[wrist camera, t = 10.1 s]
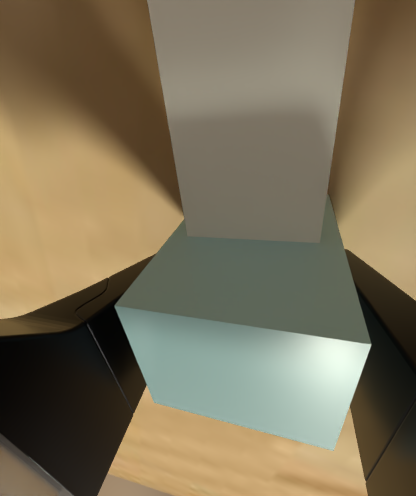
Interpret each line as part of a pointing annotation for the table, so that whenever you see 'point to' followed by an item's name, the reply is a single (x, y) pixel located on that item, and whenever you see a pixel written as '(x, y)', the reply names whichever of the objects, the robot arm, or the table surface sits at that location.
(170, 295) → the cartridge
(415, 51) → the table surface
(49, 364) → the robot arm
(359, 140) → the table surface
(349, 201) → the table surface
